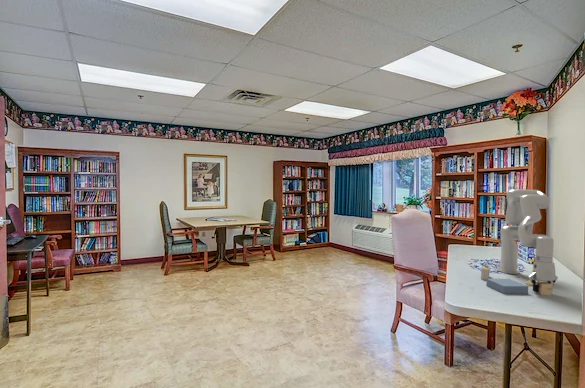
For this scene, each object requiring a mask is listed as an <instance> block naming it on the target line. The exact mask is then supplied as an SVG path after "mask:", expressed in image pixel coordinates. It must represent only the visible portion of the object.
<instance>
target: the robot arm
mask: <svg viewBox="0 0 585 388" xmlns="http://www.w3.org/2000/svg"><path fill="white" fill-rule="evenodd" d="M506 202H507V203H506V204H507V207H506V212H505V223H506V224H507V225H504V226H502V227H501V228H500V232H499V233H500V239H501V241H500V242H501V243H500V244H501V247H500V263H498V264H497V266H498V267H497V271H498V272H499V273H504V274H510V275H511V274H512V275H519V274H520V273H521V271H520V270H518V259H519V258H518V254H519V246H518V244H517V243H516V241H519V243H520V244H521V246H523V247H525V248H535V257H533V261H534V259H535V261H534V264H533V263H532V272H531V274H530V275H528V280H529V279H530V281H531V282H532V283H533V286H532V292H533V291H535V292H539V285H538V283H539V281H545V282H548V283H551V284H553V286H554V285H555V283H556V281H557V280H558V278H559V277H558V276H557V275H556V265H555V262H553V261H554V245H555V244H554V242H555V241H554V238H553V237H551V236H550V237H549V236H548V235H546V234H537V233H533V229H534V224H535V223H538V222H540V221H541V220H542V214H541V209H542V210H543V209H544V210H545V209H548V208H549V207H550V198H549V196H548V195H547V194H545V193H543V192H542V191H541V190H539V189H524V188H523V189H518V188H516V189H515V188H514V189H512V188H511V189H509V190H508V191H507V192H506ZM533 278H534V279H533ZM536 280H537V281H536ZM535 292H534V293H535Z"/></svg>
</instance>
